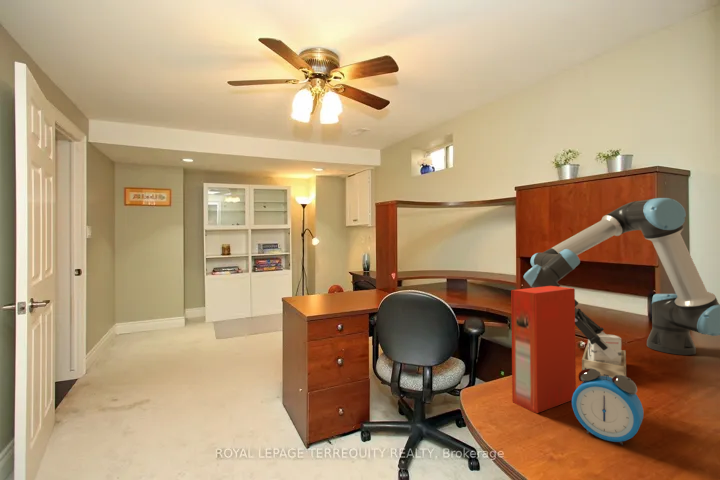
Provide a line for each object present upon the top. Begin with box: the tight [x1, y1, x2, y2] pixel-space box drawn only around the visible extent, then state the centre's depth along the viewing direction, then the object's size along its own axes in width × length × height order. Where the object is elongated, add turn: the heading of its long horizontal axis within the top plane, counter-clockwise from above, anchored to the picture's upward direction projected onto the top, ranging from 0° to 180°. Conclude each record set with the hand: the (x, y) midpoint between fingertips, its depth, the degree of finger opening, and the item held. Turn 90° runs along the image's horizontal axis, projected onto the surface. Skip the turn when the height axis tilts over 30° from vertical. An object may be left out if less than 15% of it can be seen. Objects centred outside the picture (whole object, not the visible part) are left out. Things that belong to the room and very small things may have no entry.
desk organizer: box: [581, 344, 627, 378], centre depth 124 cm, size 12×20×9 cm, turn 143°
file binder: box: [510, 286, 577, 414], centre depth 100 cm, size 8×17×32 cm, turn 118°
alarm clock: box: [571, 368, 644, 447], centre depth 82 cm, size 13×6×15 cm, turn 44°
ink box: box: [587, 333, 622, 366], centre depth 120 cm, size 9×5×12 cm, turn 80°
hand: (615, 352), depth 119 cm, fingers open, 10 cm apart
